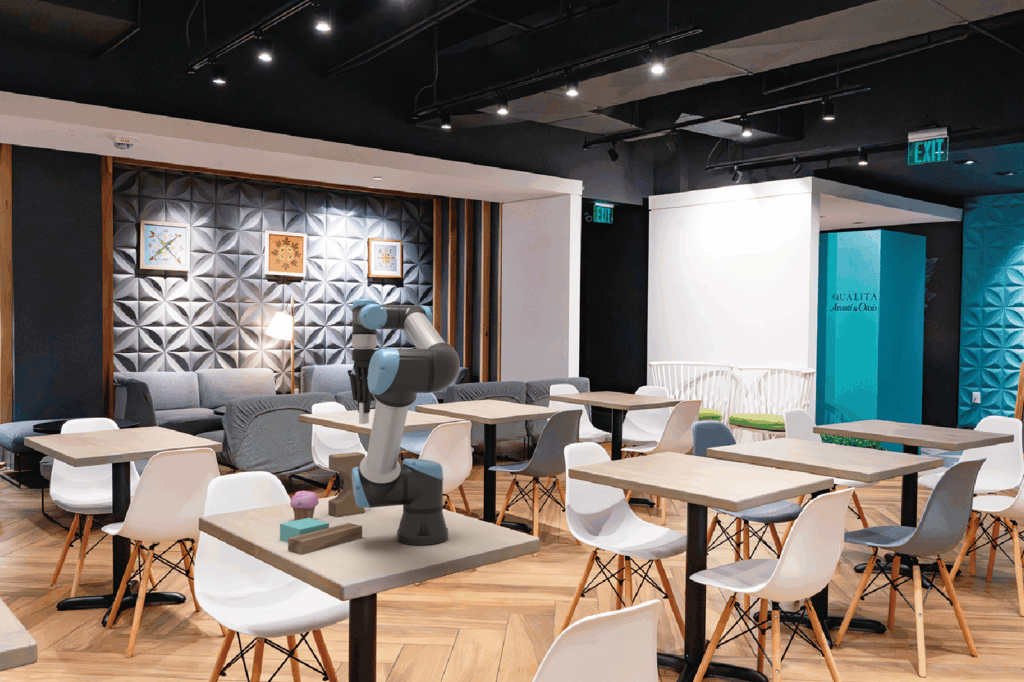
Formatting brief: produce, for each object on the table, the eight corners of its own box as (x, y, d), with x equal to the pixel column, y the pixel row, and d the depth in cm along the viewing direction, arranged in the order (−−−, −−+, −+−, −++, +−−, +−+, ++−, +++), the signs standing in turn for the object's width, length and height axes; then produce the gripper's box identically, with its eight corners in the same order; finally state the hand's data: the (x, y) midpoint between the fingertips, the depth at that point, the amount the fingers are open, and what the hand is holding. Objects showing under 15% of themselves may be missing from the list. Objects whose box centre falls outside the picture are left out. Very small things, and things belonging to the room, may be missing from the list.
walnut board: (362, 537, 224) (362, 525, 224) (302, 554, 207) (302, 541, 207) (348, 534, 228) (348, 522, 228) (288, 550, 210) (288, 538, 210)
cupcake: (294, 518, 247) (294, 488, 247) (320, 518, 248) (321, 488, 248) (287, 525, 238) (287, 493, 238) (314, 525, 239) (315, 493, 239)
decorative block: (334, 517, 249) (335, 456, 249) (327, 514, 254) (328, 454, 254) (365, 512, 256) (365, 453, 256) (357, 509, 261) (358, 451, 260)
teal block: (328, 540, 223) (329, 523, 223) (299, 547, 215) (299, 529, 215) (308, 534, 229) (309, 517, 229) (279, 540, 222) (279, 523, 222)
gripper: (387, 348, 237) (387, 423, 237) (358, 348, 245) (358, 421, 245) (370, 348, 231) (369, 425, 231) (341, 348, 239) (340, 423, 239)
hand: (363, 423), depth 238 cm, fingers closed
